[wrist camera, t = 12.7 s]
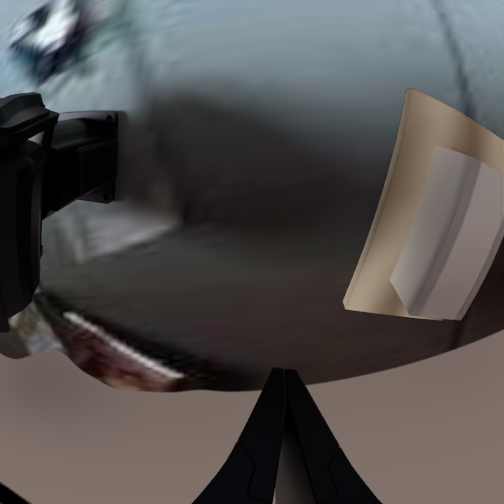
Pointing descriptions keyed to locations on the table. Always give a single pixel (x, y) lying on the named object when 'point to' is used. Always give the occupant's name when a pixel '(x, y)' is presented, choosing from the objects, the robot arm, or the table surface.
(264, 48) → the table surface
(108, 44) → the table surface
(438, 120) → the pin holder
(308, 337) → the table surface
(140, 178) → the table surface
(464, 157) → the plug housing
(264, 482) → the robot arm
